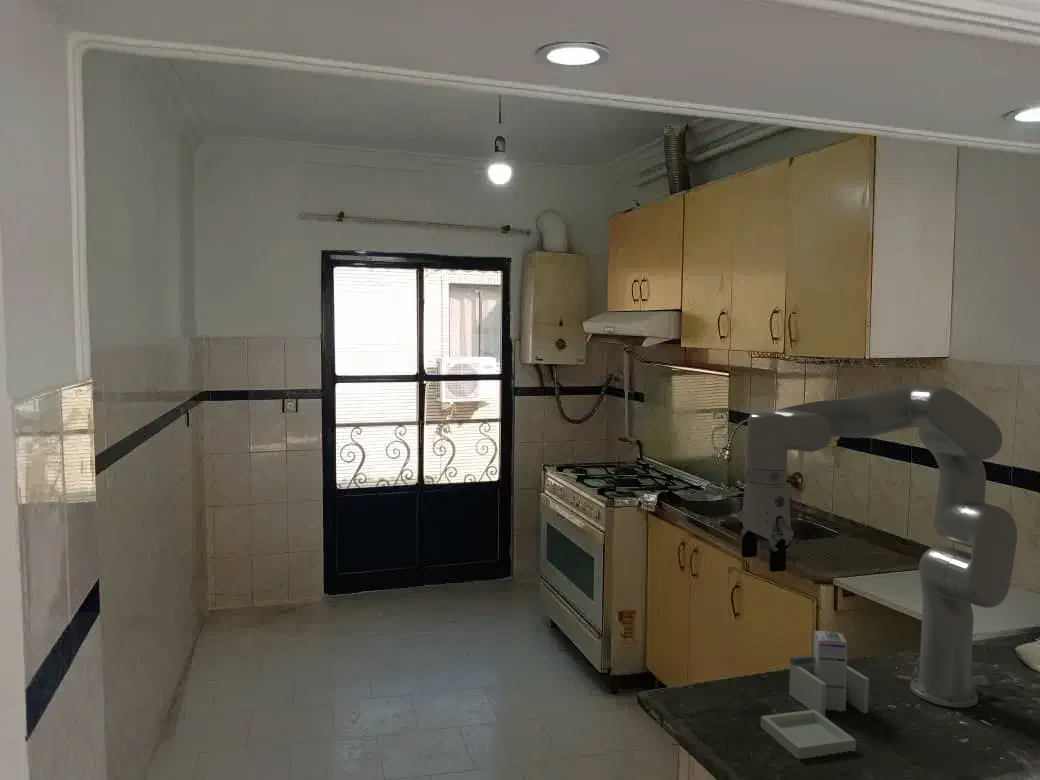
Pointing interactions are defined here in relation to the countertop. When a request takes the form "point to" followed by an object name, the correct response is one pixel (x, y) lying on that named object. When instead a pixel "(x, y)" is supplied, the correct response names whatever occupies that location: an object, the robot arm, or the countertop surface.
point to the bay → (824, 686)
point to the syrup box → (831, 667)
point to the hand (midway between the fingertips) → (762, 563)
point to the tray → (807, 734)
